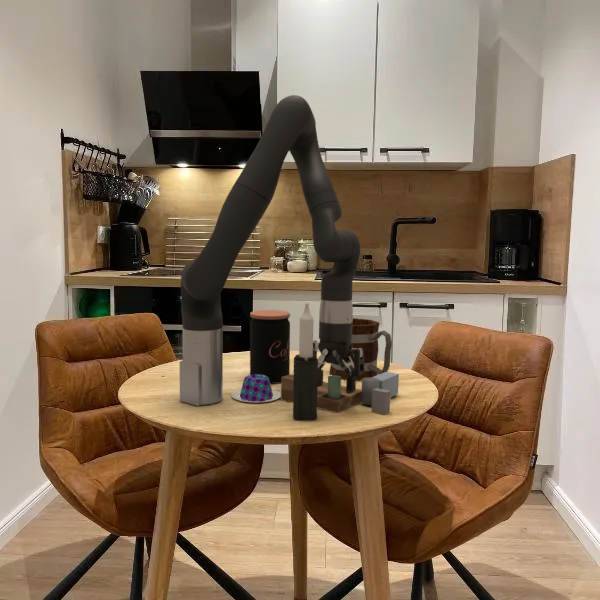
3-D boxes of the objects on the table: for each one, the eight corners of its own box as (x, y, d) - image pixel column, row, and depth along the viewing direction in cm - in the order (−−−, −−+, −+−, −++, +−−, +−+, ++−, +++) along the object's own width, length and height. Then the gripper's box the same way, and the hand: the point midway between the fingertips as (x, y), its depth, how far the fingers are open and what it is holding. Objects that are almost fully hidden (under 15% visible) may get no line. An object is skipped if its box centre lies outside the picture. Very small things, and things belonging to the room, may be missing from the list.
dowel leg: (335, 409, 134) (336, 379, 134) (324, 407, 136) (325, 377, 135) (342, 406, 137) (343, 376, 136) (331, 404, 139) (332, 374, 138)
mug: (319, 373, 167) (320, 321, 165) (352, 366, 176) (353, 316, 174) (371, 388, 152) (373, 331, 151) (405, 380, 161) (407, 326, 160)
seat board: (337, 412, 132) (338, 388, 132) (281, 399, 142) (281, 377, 141) (364, 400, 142) (365, 378, 141) (310, 388, 151) (310, 367, 151)
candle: (315, 413, 132) (318, 301, 129) (317, 420, 127) (319, 304, 124) (292, 412, 132) (294, 300, 128) (293, 420, 126) (295, 304, 123)
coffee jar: (271, 386, 153) (271, 317, 150) (241, 379, 159) (241, 313, 157) (297, 378, 161) (298, 312, 159) (268, 371, 168) (268, 308, 165)
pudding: (291, 396, 145) (291, 375, 144) (260, 408, 135) (260, 386, 135) (253, 388, 152) (253, 368, 151) (221, 399, 142) (221, 377, 141)
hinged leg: (373, 406, 136) (373, 382, 135) (358, 403, 138) (358, 379, 138) (399, 393, 147) (399, 372, 146) (384, 391, 149) (385, 369, 148)
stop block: (385, 414, 132) (386, 392, 131) (371, 411, 134) (372, 389, 133) (389, 412, 133) (390, 390, 132) (375, 409, 135) (376, 387, 135)
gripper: (300, 318, 135) (299, 387, 137) (354, 325, 127) (352, 398, 129) (319, 314, 141) (317, 381, 143) (371, 320, 133) (369, 391, 135)
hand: (334, 389), depth 136 cm, fingers open, 8 cm apart
